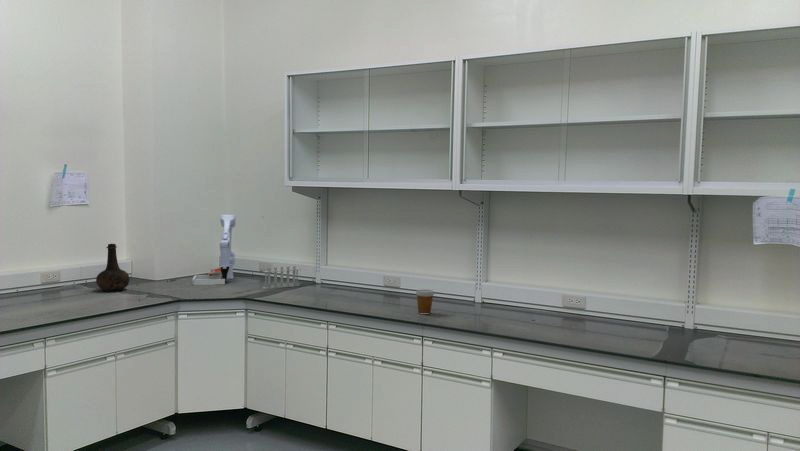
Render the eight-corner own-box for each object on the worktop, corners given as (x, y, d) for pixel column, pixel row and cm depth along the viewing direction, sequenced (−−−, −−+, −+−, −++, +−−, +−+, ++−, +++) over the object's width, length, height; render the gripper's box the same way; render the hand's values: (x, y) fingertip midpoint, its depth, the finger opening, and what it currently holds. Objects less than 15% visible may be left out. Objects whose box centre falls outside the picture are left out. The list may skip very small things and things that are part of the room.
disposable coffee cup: (430, 316, 301) (430, 293, 300) (412, 314, 304) (413, 291, 304) (435, 312, 310) (436, 290, 309) (418, 310, 313) (419, 288, 312)
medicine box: (210, 280, 393) (208, 269, 392) (222, 279, 395) (221, 267, 394) (209, 284, 378) (208, 272, 377) (222, 282, 380) (221, 270, 380)
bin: (194, 280, 392) (194, 275, 391) (225, 280, 397) (225, 274, 397) (192, 285, 374) (192, 279, 374) (224, 284, 379) (224, 279, 379)
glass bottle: (135, 288, 358) (135, 242, 356) (118, 293, 340) (118, 245, 338) (107, 287, 360) (107, 241, 358) (89, 292, 342) (89, 244, 340)
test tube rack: (297, 284, 385) (297, 265, 384) (300, 285, 382) (300, 265, 381) (262, 288, 370) (262, 267, 369) (265, 289, 366) (265, 268, 365)
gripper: (231, 258, 381) (230, 279, 381) (231, 256, 395) (231, 276, 395) (219, 259, 379) (219, 279, 379) (220, 256, 393) (220, 276, 393)
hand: (224, 278), depth 387 cm, fingers open, 7 cm apart
